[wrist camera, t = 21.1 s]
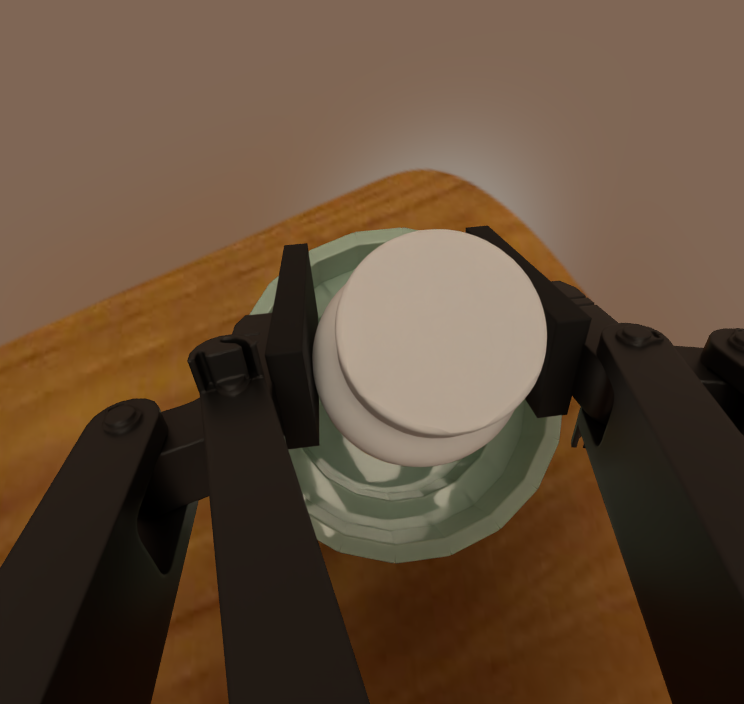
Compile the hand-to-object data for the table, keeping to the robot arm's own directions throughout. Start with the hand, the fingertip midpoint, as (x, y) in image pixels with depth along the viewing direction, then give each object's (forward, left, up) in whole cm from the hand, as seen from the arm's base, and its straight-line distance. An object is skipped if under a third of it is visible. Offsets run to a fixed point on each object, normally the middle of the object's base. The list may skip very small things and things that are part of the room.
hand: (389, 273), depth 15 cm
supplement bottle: (0, -4, -4) cm, 5 cm away
